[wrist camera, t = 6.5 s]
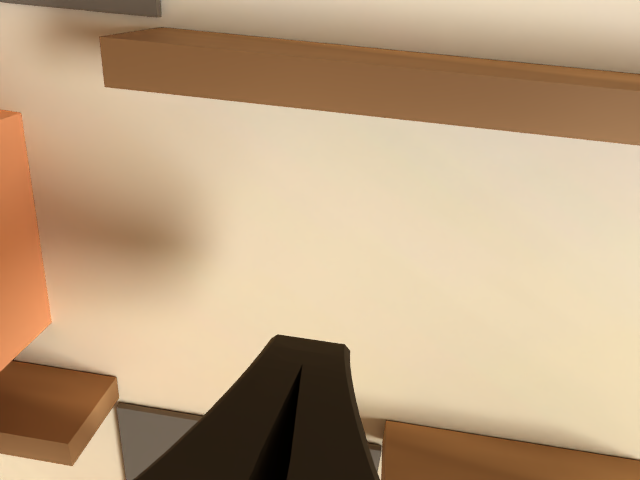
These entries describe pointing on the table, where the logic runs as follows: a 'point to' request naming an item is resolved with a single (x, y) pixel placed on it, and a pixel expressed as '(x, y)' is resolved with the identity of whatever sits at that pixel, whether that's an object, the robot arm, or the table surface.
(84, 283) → the table surface
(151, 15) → the mats
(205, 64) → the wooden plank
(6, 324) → the block
